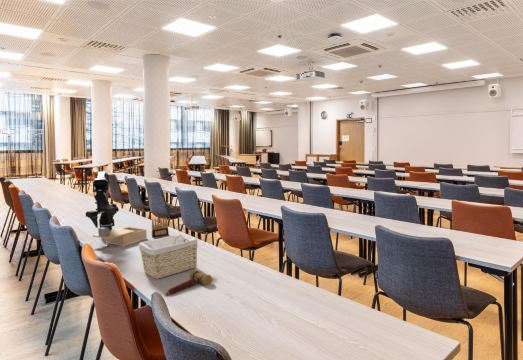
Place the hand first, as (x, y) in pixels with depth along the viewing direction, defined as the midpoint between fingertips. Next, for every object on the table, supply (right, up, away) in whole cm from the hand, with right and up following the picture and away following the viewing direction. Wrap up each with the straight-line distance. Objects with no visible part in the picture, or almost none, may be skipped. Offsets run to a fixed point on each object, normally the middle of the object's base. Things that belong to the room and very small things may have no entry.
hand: (103, 225), depth 221 cm
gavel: (+61, -19, -62) cm, 89 cm away
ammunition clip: (+27, -10, +24) cm, 37 cm away
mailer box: (+8, -11, +15) cm, 20 cm away
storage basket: (+49, -17, -39) cm, 65 cm away
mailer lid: (+4, -6, +7) cm, 10 cm away
